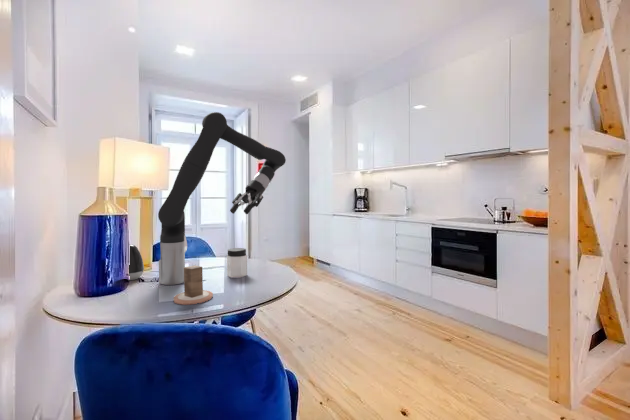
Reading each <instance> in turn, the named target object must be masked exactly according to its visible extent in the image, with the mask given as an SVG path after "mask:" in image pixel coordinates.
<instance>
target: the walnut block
mask: <svg viewBox="0 0 630 420" xmlns="http://www.w3.org/2000/svg"><path fill="white" fill-rule="evenodd" d="M203 276H204V275H203V266H201V265H190V266H185V267H184V282H183V288H184V289H183V290H184V291H183V292H184V296H187V297H191V298H193V297H196V296H200V295H203V290H204V289H203V288H204V286H203V285H204V284H203V282H204V281H203Z"/></svg>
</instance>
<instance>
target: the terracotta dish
mask: <svg viewBox="0 0 630 420" xmlns="http://www.w3.org/2000/svg"><path fill="white" fill-rule="evenodd" d="M212 297H214V294H213V292H212V291H209V290H204V289H203V295H200V296H196V297H193V298H191V297H187V296H184V291H183V292H180V293H177V294H176V295H174V296H173V303H174V304H177V305H185V306H188V305H197V303H199V304H202V302H203V303H205V301H206V302H208V300H209V301H210V300H212V299H213V298H212ZM211 298H212V299H211Z"/></svg>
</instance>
